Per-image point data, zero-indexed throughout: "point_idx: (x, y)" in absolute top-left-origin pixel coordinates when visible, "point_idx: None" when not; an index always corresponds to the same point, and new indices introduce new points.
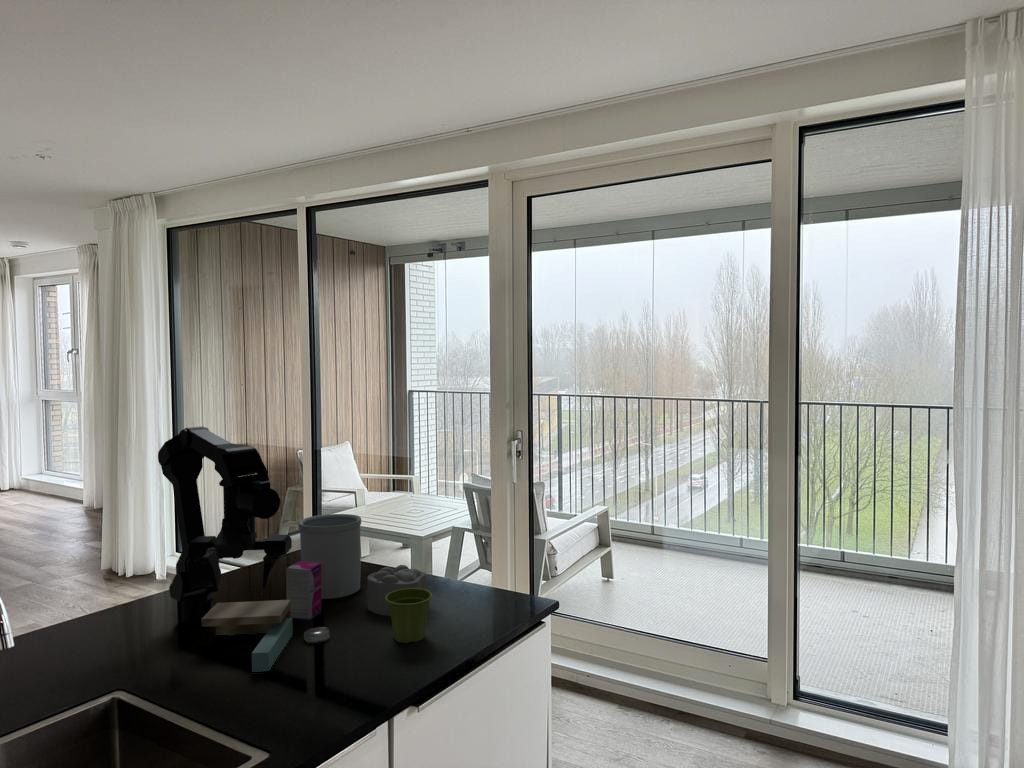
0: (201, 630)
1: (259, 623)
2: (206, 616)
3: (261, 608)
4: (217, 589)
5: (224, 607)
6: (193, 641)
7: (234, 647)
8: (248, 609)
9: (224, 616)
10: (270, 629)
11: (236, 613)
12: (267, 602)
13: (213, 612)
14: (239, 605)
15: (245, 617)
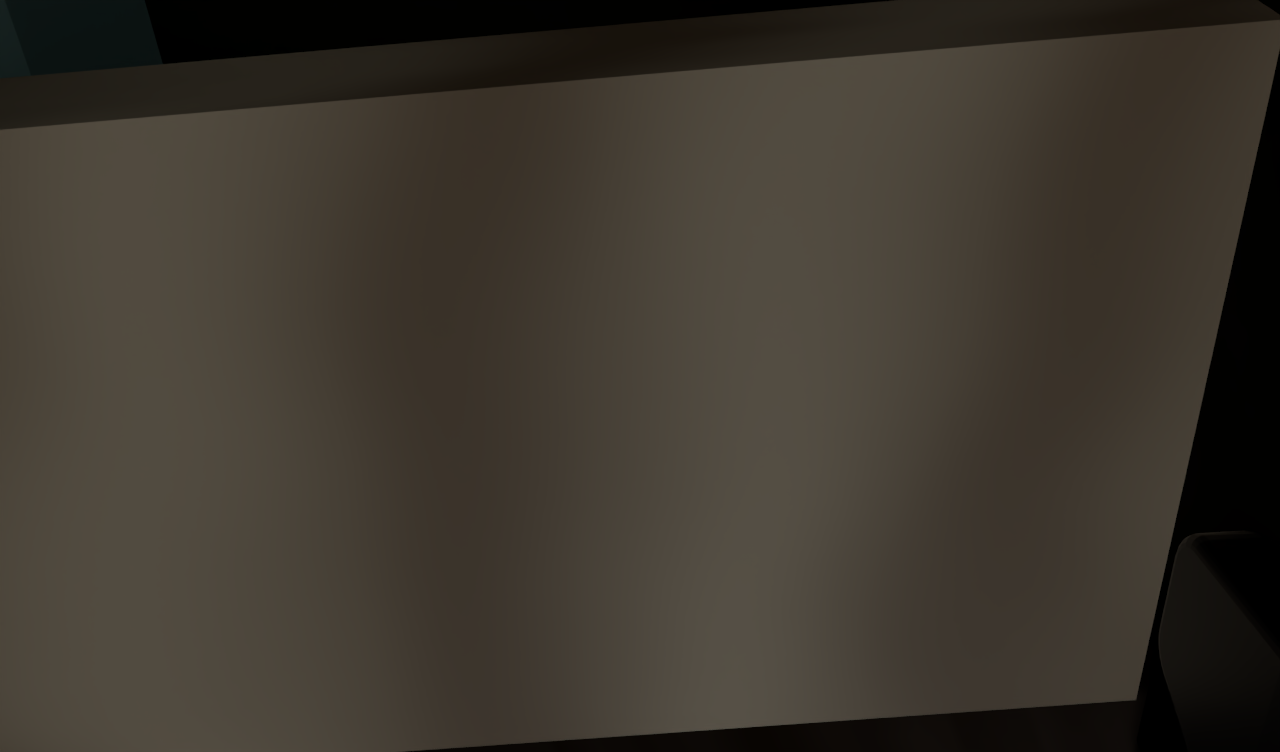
0: (1214, 496)
1: (125, 68)
2: (1200, 159)
3: (277, 489)
4: (1178, 553)
5: (963, 545)
6: (1252, 219)
7: (652, 17)
8: (496, 457)
9: (824, 143)
10: (8, 72)
11: (640, 291)
12: (324, 700)
13: (1103, 346)
14: (734, 610)
15: (363, 99)
